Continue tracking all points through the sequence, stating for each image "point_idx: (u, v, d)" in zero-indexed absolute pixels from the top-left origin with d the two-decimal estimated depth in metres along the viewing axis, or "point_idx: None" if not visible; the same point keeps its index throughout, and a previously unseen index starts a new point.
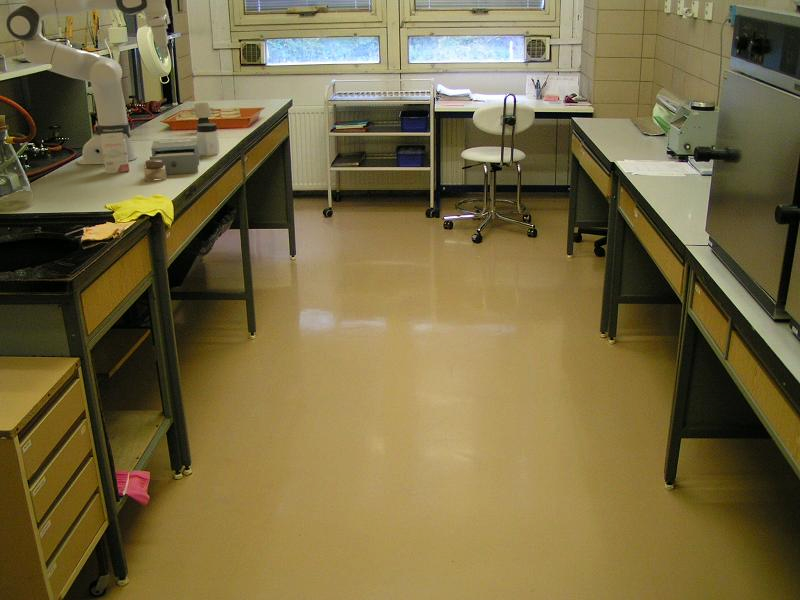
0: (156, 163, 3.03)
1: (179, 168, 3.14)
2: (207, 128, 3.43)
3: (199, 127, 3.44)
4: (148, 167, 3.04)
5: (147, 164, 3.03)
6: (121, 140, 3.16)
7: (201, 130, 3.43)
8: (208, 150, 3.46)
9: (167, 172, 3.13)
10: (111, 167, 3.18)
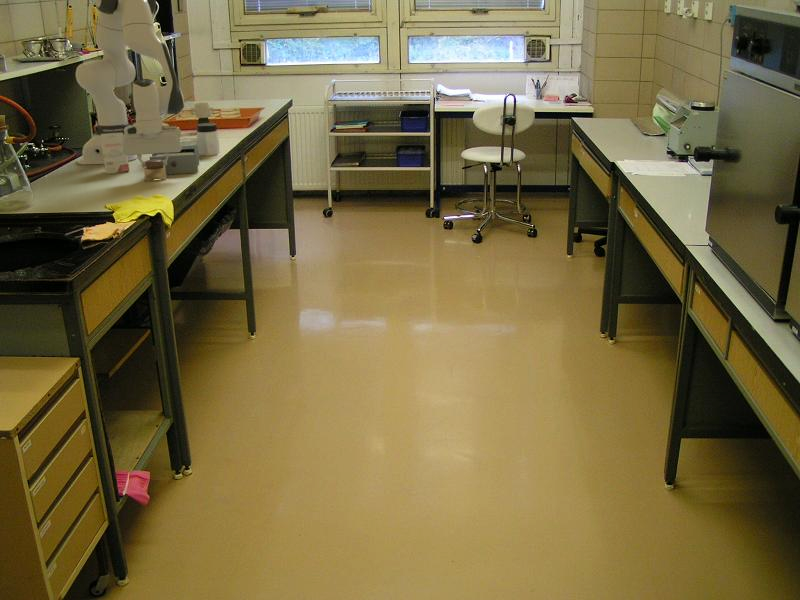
0: (156, 163, 3.03)
1: (179, 168, 3.14)
2: (207, 128, 3.43)
3: (199, 127, 3.44)
4: (148, 167, 3.04)
5: (147, 164, 3.03)
6: (121, 140, 3.16)
7: (201, 130, 3.43)
8: (208, 150, 3.46)
9: (167, 172, 3.13)
10: (111, 167, 3.18)
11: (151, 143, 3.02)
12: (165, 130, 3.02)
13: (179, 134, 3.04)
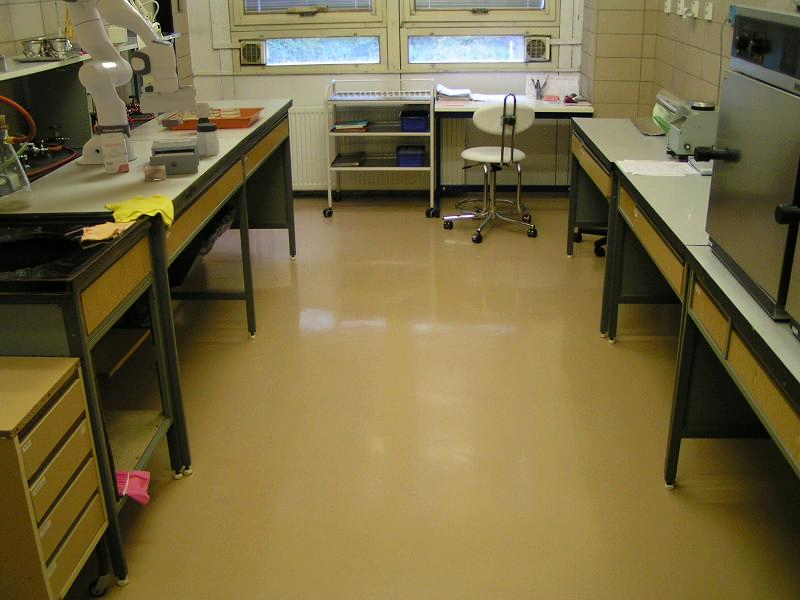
0: (172, 121, 3.14)
1: (179, 168, 3.14)
2: (207, 128, 3.43)
3: (199, 127, 3.44)
4: (164, 125, 3.14)
5: (164, 122, 3.14)
6: (121, 140, 3.16)
7: (201, 130, 3.43)
8: (208, 150, 3.46)
9: (167, 172, 3.13)
10: (111, 167, 3.18)
11: (167, 102, 3.12)
12: (181, 89, 3.13)
13: (194, 93, 3.14)
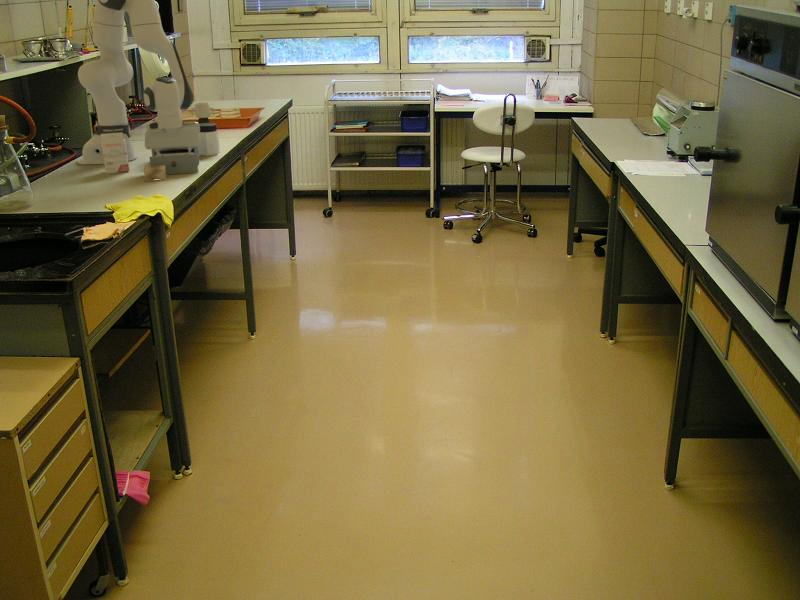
0: None
1: (179, 168, 3.14)
2: (207, 128, 3.43)
3: None
4: None
5: None
6: (121, 140, 3.16)
7: (201, 130, 3.43)
8: (208, 150, 3.46)
9: (167, 172, 3.13)
10: (111, 167, 3.18)
11: (172, 138, 3.17)
12: (185, 125, 3.17)
13: (198, 129, 3.19)
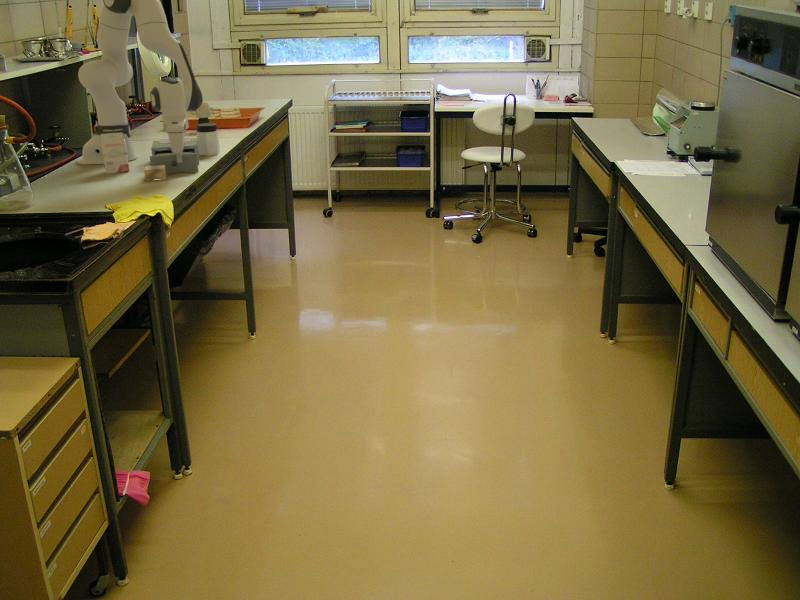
0: None
1: (180, 167, 3.15)
2: (207, 128, 3.43)
3: (199, 127, 3.44)
4: None
5: None
6: (121, 140, 3.16)
7: (201, 130, 3.43)
8: (208, 150, 3.46)
9: (167, 171, 3.15)
10: (111, 167, 3.18)
11: None
12: None
13: None
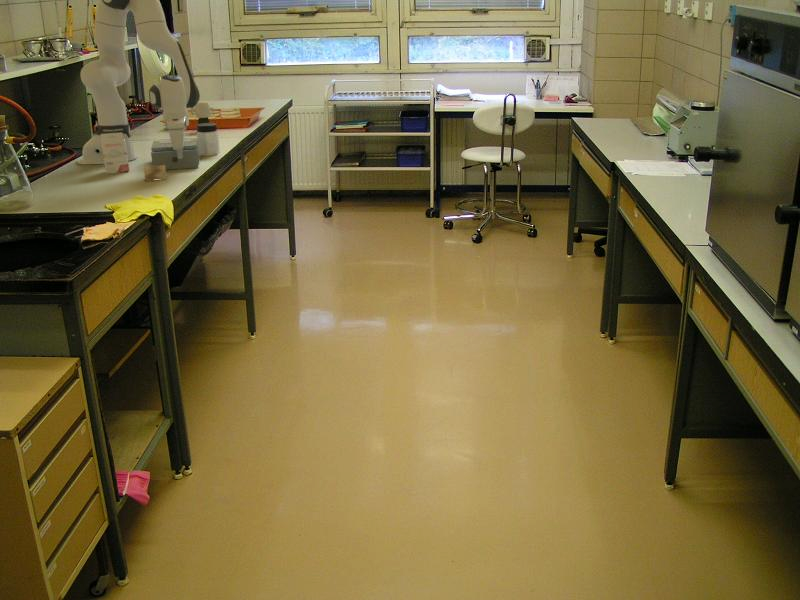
0: None
1: (180, 163, 3.22)
2: (207, 128, 3.43)
3: (199, 127, 3.44)
4: None
5: None
6: (121, 140, 3.16)
7: (201, 130, 3.43)
8: (208, 150, 3.46)
9: (168, 167, 3.22)
10: (111, 167, 3.18)
11: None
12: None
13: None
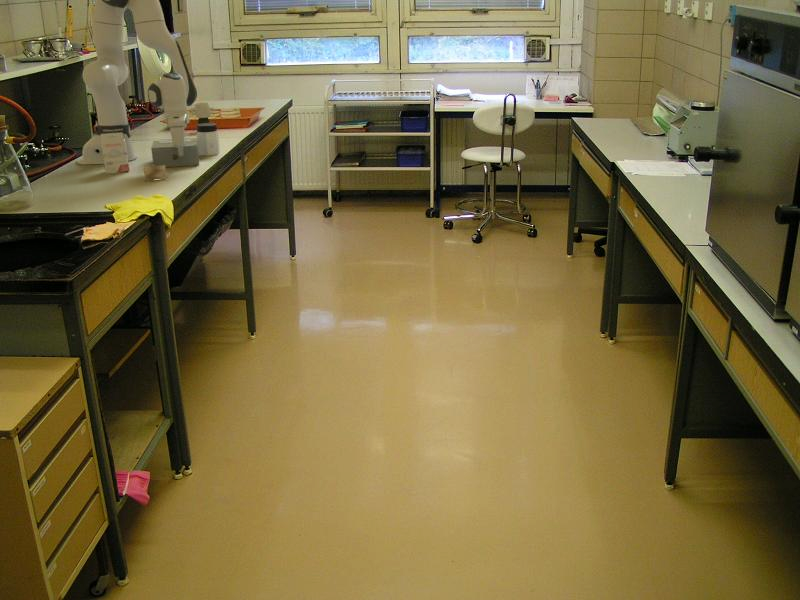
0: None
1: (180, 160, 3.27)
2: (207, 128, 3.43)
3: (199, 127, 3.44)
4: None
5: None
6: (121, 140, 3.16)
7: (201, 130, 3.43)
8: (208, 150, 3.46)
9: (169, 165, 3.26)
10: (111, 167, 3.18)
11: None
12: None
13: None
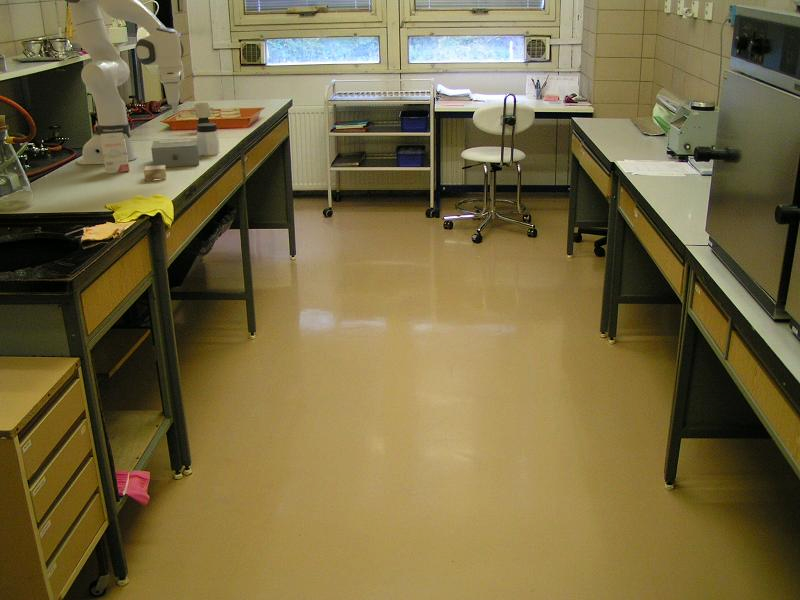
0: None
1: (180, 160, 3.27)
2: (207, 128, 3.43)
3: (199, 127, 3.44)
4: None
5: None
6: (121, 140, 3.16)
7: (201, 130, 3.43)
8: (208, 150, 3.46)
9: (169, 165, 3.26)
10: (111, 167, 3.18)
11: None
12: None
13: None
